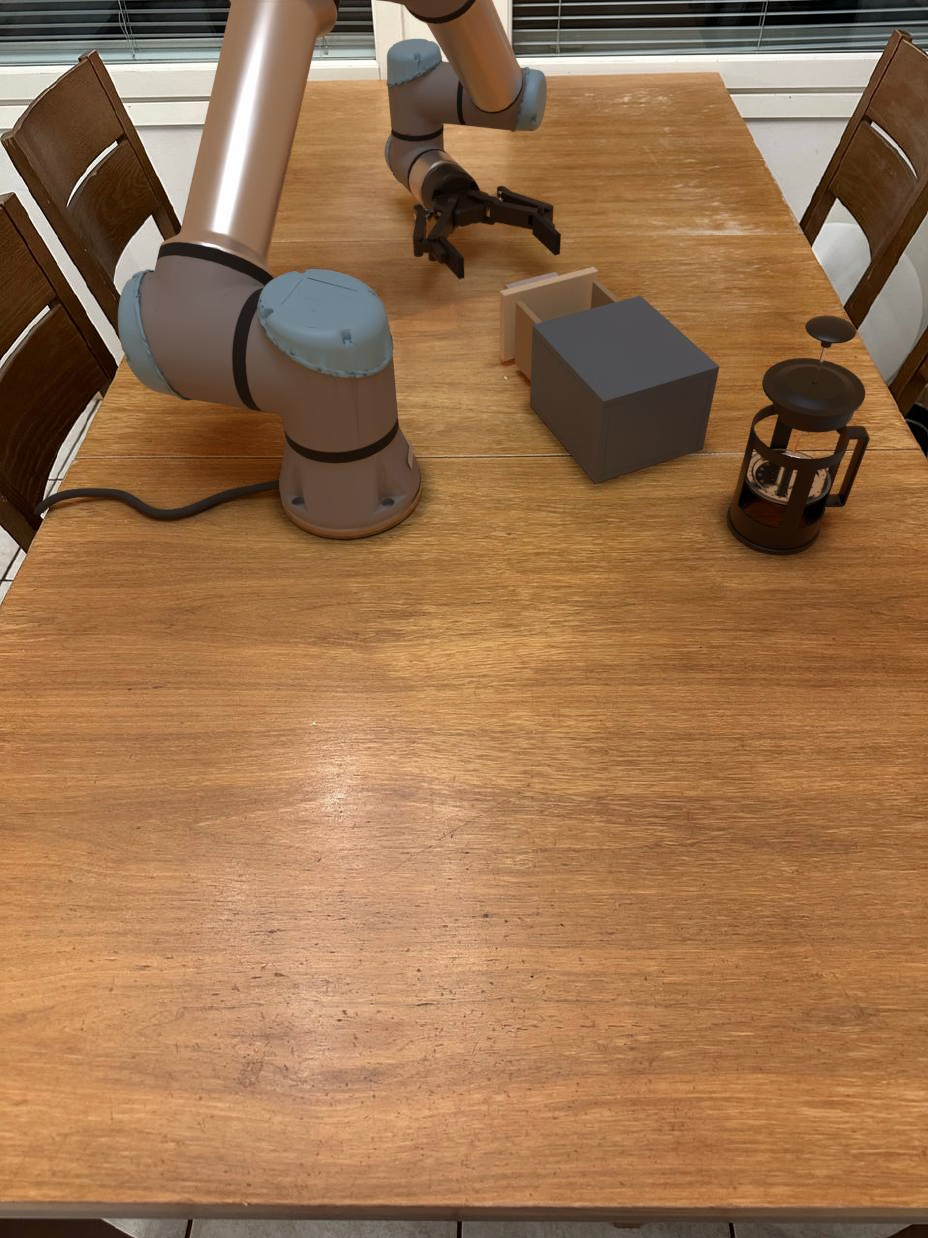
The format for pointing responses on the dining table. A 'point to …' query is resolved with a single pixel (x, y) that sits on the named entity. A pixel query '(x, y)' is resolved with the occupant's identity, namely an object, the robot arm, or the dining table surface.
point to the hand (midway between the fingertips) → (510, 256)
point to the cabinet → (621, 387)
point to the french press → (788, 477)
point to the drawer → (544, 308)
